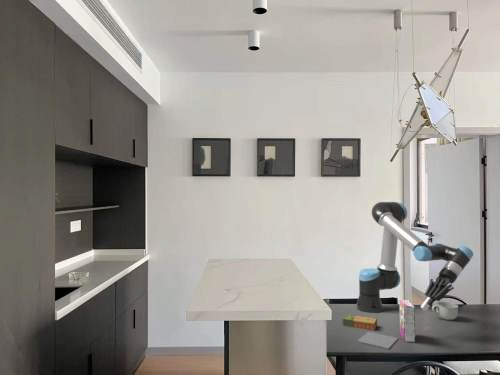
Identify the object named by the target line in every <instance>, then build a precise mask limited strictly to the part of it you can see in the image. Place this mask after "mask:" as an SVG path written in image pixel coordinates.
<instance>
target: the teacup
mask: <svg viewBox="0 0 500 375" xmlns="http://www.w3.org/2000/svg"><path fill="white" fill-rule="evenodd" d="M435 309H436V310H435ZM431 311H432V312H433V313H434V314H436V315H437V316H438V317H439V318H440V319H443V320H446V321H453V320H455V319H457V318H458V313H459V306H458V305H457V304H456V303H453V302H450V301H449V302H448V301H442V300H440V301H436V304H432V305H431Z"/></svg>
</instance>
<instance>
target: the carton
mask: <svg viewBox="0 0 500 375" xmlns="http://www.w3.org/2000/svg"><path fill="white" fill-rule="evenodd" d="M342 326H343V327H349V328H356V329H363V330H367V331H376V328H377V327H378V318H375V317H367V316H360V315H353V314H345V316H344V317H343V318H342Z"/></svg>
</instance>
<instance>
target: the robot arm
mask: <svg viewBox="0 0 500 375" xmlns="http://www.w3.org/2000/svg"><path fill="white" fill-rule="evenodd" d="M371 216H372V218H373V220H374V221H375V223H377V224H378V225H379V226H381V227H383V234H382V240H381V241H382V242H381V252H380V253H381V254H380V260H379V261H380V263H378V264H377V267H376V268H375V267H373V268H372V267H370V268H363V269H361V270H360V271H359V274H358V275H359V277H358V279H359V282H358V285H359V286H358V288H359V289H358V290H359V291H358V292H359V293H358V294H359V296H358V298H357V302H356V306H355V307H356V309H357V310H359V311H362V312H367V313H381V312H383V311H384V306H383V302H382V300H381V296H380V295H381V294H380V291H383V290H392V289H395V288H397V287H398V286H399V285H400V283H401V275H400V273H399V271H398V267H396V260H397V258H396V257H397V248H398V240H399V241H400V242H401V243H402V244H404V245H405V246H406V247H407V248H408V249H409V250H411V251H412V252H413V256H414V258H415V260H417V261H419V262H430V261H431V262H432V261H441V260H442V261H446V263H445V264H444V266H443V268H441V270H440V271H439V273H438V276H437V277H436V278H435V279H433V278H431V279H430V281H429V284H428V287H427V288H426V290H425V293H424V295H425V296H426V297H425V299H424V300H423V302H422V304H421V305H420V308H421V309H422V311H423V312H427V311H428V310H429V308H430V307H432V306H433V305H434V302H440V301H442V299H443V298H444V297H446V295H447V294H448V293H450V291H453V290H454V289H455V287H454V286H453V285H452V284H454V283H455V282H456V280H457V279H458V277H459V276H460V275H461V273H462V272H463V270H464V269H465V268H466V267H467V265H468V264H469V263H470V262H471V261H472V259H473V256H474V252H473V250H472V249H471V248H469V247H467V246H466V245H459V246H457V248H455V247H451V246H448V245H446V244H445V245H444V244H442V243H438V242H434V243H433V244H431V245H429V244H428V243H426V242H425V241H424V240H422V239H421V238H420V237H419V236H417V235H416V234H415V233H413V231H412V230H410V229H409V228H407V227H406V225H404V224H403V221H405V219H407V217H408V211H407V208H406V206H405V205H404V204H403V203H401V202H398V201H380V202H376V203H375V204H374V205H373V207H372V208H371Z"/></svg>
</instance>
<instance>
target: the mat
mask: <svg viewBox="0 0 500 375" xmlns="http://www.w3.org/2000/svg"><path fill="white" fill-rule="evenodd" d="M398 340H399V338H398V337H394V336H390V335H385V334H382V333H381V334H380V333H376V332H372V331H367V332H366V333H365V334H364V335H362V336H361V337H360V338H359V339H358V340H357V341H356V342H357V343H360V344H363V345H369V346H372V347H377V348H380V349H385V350H390V349H391V347H393V345H394V344H395V343H396V342H397V341H398Z"/></svg>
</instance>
